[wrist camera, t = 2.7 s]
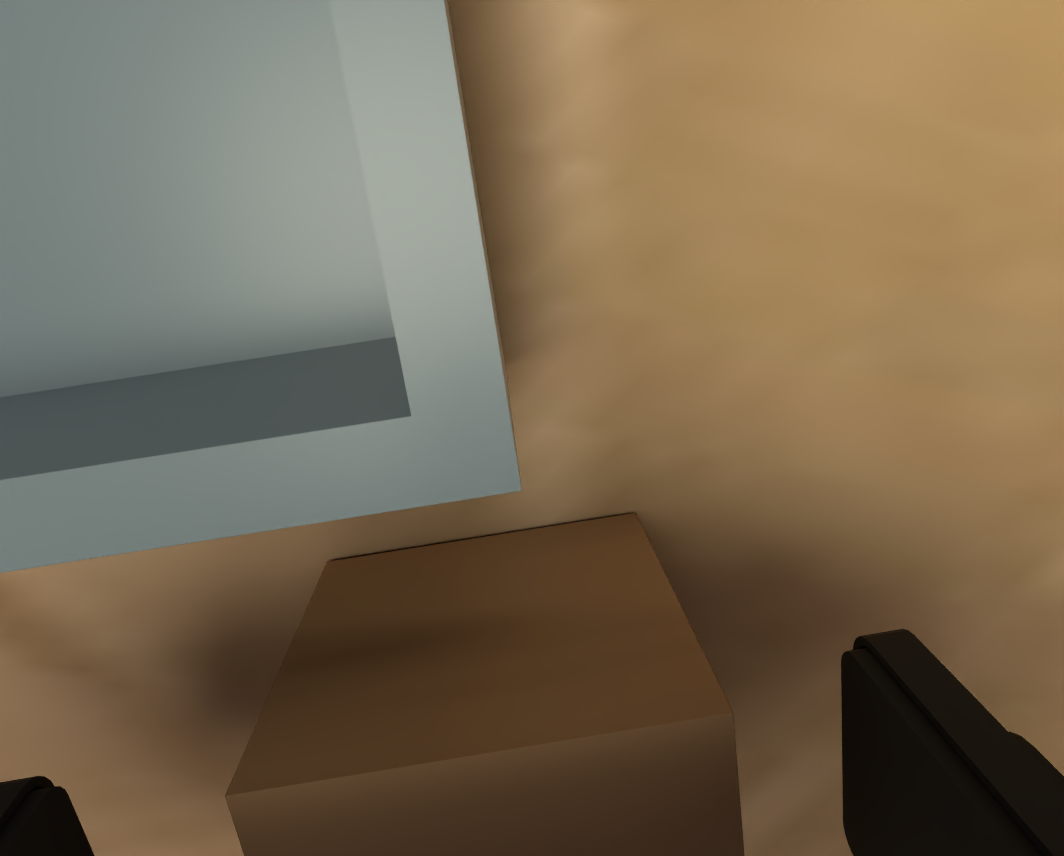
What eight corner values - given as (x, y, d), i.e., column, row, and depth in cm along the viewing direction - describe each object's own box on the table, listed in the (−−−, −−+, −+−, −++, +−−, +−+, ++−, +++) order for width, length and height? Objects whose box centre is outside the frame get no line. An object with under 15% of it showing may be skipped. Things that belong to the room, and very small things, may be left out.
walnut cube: (664, 766, 14) (761, 1071, 9) (388, 811, 14) (337, 1142, 9) (635, 513, 12) (733, 713, 7) (326, 561, 12) (224, 796, 7)
